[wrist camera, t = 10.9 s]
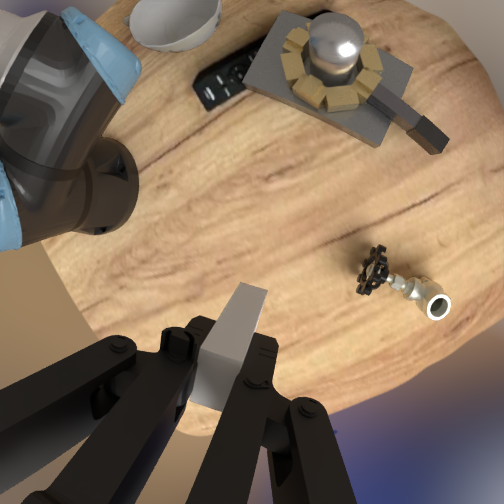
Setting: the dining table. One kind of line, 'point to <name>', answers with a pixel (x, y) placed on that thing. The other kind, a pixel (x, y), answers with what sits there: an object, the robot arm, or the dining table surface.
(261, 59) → the plate
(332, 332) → the dining table surface
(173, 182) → the dining table surface
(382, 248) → the valve
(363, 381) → the dining table surface
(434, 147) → the grey bar gold ring
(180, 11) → the teacup
